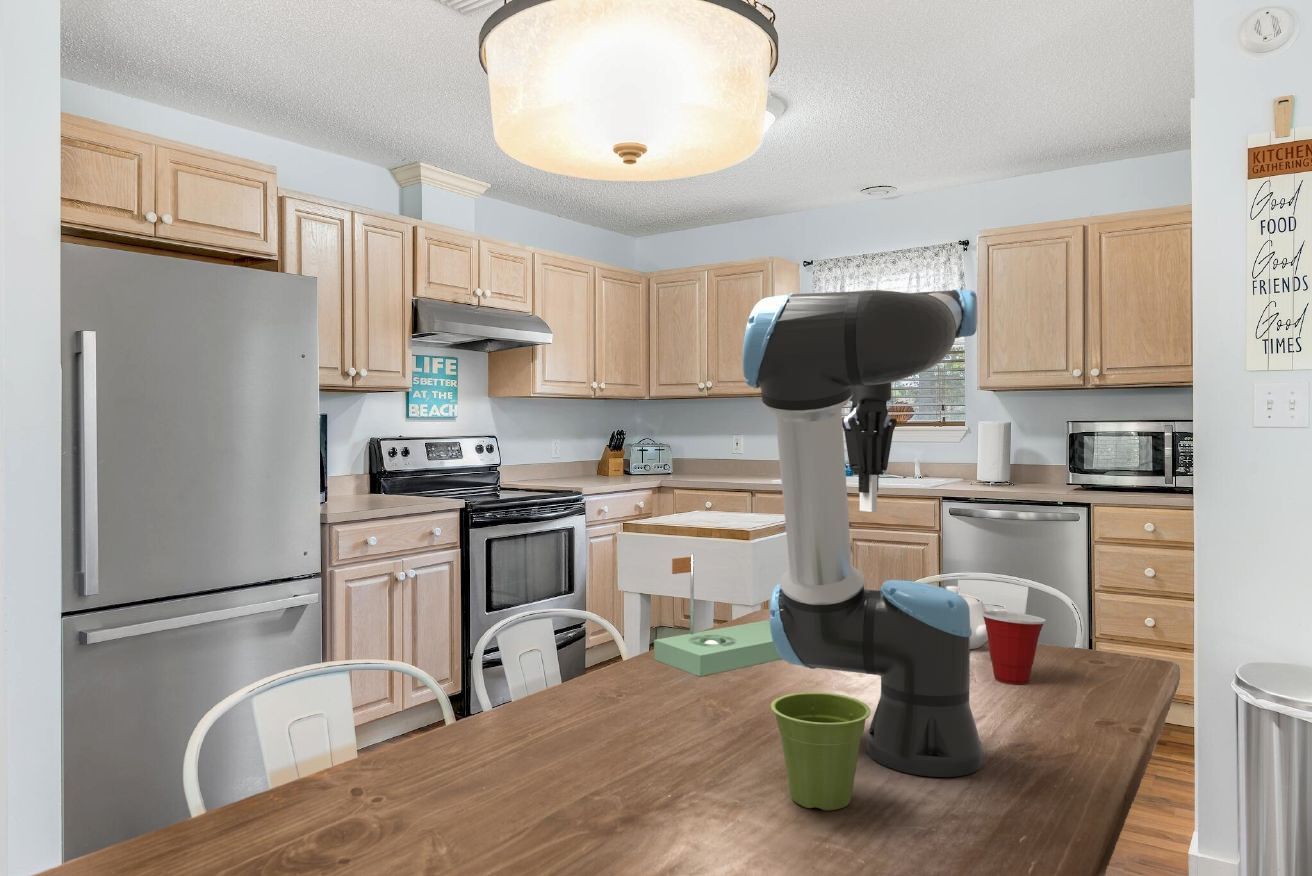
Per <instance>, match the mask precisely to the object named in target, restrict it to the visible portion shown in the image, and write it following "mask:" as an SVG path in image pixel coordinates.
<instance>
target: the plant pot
mask: <svg viewBox="0 0 1312 876" xmlns="http://www.w3.org/2000/svg"><path fill="white" fill-rule="evenodd" d="M770 709H771V711H772V712H773V714H774V715H775V717H776V723H777V729H778V731H779V732H780V739H781V744H782V750H783V757H784V763H785V768H786V775H787V782H788V789H789V792H790V793H789V794H790V798H791V799H792V801H793V802H795V803H796V804H797V805H799V806H802V807H804V808H806V809H812V808H813V809H814V808H817V809H821V810H822V811H829V812H830V811H835V810H840V809H843V808H846V807H847V806H848V805H849V804H850V803H851V800H852V797H853V789H854V784H855V779H856V770H857V764H858V758H859V750H860V746H861V740H862V739H861V738H862V736H863V734H864V730H865V725H866V720H867V719H868V718H869V717H870V715H871V708H870V706H869V705H867V704H866V703H865V702H863V701H861V700H859V699H857V698H854V697H851V696H847V695H843V694H838V693H831V692H830V693H829V692H822V691H821V692H820V691H819V692H818V691H816V692H810V691H808V692H807V691H806V692H797V693H796V692H795V693H789V694H785V695H782V696H780V697H777V698H776V699H774V700H773V701H772V702H771V704H770Z"/></svg>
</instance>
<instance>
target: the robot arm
mask: <svg viewBox="0 0 1312 876" xmlns="http://www.w3.org/2000/svg"><path fill="white" fill-rule="evenodd" d="M977 329H978V296H977V293H976V292H975V291H974V290H970V289H952V290H939V291H938V290H937V291H922V292H904V291H903V292H902V291H893V290H881V289H880V290H879V289H876V290H875V289H870V290H868V289H867V290H860V291H859V290H857V291H855V290H854V291H835V292H834V291H833V292H832V291H831V292H812V293H811V292H810V293H808V292H807V293H794V292H793V293H792V292H791V293H789V294H784V295H783V294H782V295H775V296H769V297H768V296H767V297H765V298H762V299H761V300H760V301H758V302H757V303H756V304H755V305H754V307H753V309H752V310H751V312H750V314H749V317H748V320H747V323H746V328H745V333H744V338H743V347H742V372H743V377H744V379H745V383H746V384H747V386H749V387H750V388H753V389H759V388H760V392H761V401H762V405H763V406H764V407H765V408H766V409H767V410H769V411H770V412H771V413H773V414H774V416H775V424H776V425H775V426H776V436H777V448H778V456H779V459H778V460H779V468H780V469H779V470H780V477H781V478H780V479H781V490H782V499H783V501H782V502H783V511H784V519H785V522H784V523H785V531H786V532H785V533H786V541H787V553H788V554H787V555H788V562H789V564H788V565H789V569H787V570H786V571H785V572H783V574H782V576H781V578H780V582H779V583H778V584H776V585H775V587H774V588H773V590H772V592H771V595H770V601H769V614H770V617H769V620H770V630H771V636H772V640H773V643H774V646H775V649H776V651H777V653H778V654H779V656H780V657H781V658H782V659H781V660H783V661H784V662H786V663H787V664H790V665H796V666H802V667H805V668H809V669H810V670H811V669H812V670H815V669H823V670H829V671H830V670H831V671H840V672H849V673H855V674H856V673H857V674H866V675H872V676H873V675H875V676H879V677H880V697H879V700H878V703H877V707H876V708H875V712H874V714H873V717H872V720H871V722H870V723H871V724H870V727H869V729H868V732H867V743H866V744H867V745H866V746H867V747H866V749H867V753H868V755H869V757H870V758H871V759H873V760H874V761H875V762H877V763H879V764H881V765H883V766H885V767H887V768H888V769H889V768H890V769H892V770H896V771H899V772H902V773H905V774H911V775H917V776H924V777H933V778H953V777H961V776H967V775H970V774H973V773H976V772H977V771H978V770H980V769H981V768H982V766H983V763H984V761H983V758H984V757H983V755H984V754H983V752H984V751H983V750H984V749H983V744H982V743H983V742H982V741H981V739H980V736H979V732H978V731H979V730H978V729H977V725H976V722H975V718H974V716H973V712H972V710H971V705H970V686H971V684H970V683H971V682H970V680H971V679H970V677H971V676H970V672H971V671H970V670H971V669H970V667H971V666H970V665H971V664H970V662H971V661H970V658H971V657H970V655H971V654H970V651H971V649H970V636H971V635H972V630H971V628H970V610H969V606H968V603H967V602H966V600H965V599H964V598H963V597H962V596H960V595H959V594H960V593H958V592H957V593H955V592H953V591H950V590H947V589H946V588H943V587H941V586H938V585H933V584H930V583H929V584H928V583H924V582H919V581H911V580H899V579H889V580H885V581H884V582H883V583H882V586H881V587H880V590H874V589H865V581H864V580H865V579H864V577H863V574H862V572H861V571H860V570H859V569H857V568H856V567H855V566H854V565H852V549H851V548H852V547H851V537H850V534H851V533H850V521H849V519H850V518H849V505H848V491H847V489H848V488H847V475H846V474H847V473H846V472H847V471H846V457H845V445H844V444H846V452H847V458H848V464H849V469H850V471H852V473H853V474H854V475H857V476H858V487H857V488H858V492H859V511H860V512H870V513H875V512H876V513H877V512H878V492H879V475H880V476H883V475H884V474H885V471H887V470H888V466H889V459H890V453H891V448H892V442H893V434H894V431H895V428H896V426H897V424H898V420H897V418H891V416H890V415H889V409H888V406H887V402H889V401H891V400H892V383H895V382H896V381H897V382H898V381H901V380H905V379H907V378H909V377H912V376H915V375H917V374H919V373H922V372H925V371H927V370H928V369H931V368H933V367H934V366H935V365H937V364H938V363H940V362H941V361H942V360H943V359H945V357H946V356H947V355H948V354H949V353H950V351H951V350H952V347H953V346H954V343H955V340H956V339H959V338H964V337H972V336H974V335H975V334H976V333H977ZM849 402H851V407H850V410H849V412H850V413H849V414H848V415H847V416H846V417H843V412H842V409H843V408H844V407H845V406H846V405H847V404H848V403H849ZM844 437H845V442H844Z"/></svg>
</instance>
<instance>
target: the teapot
mask: <svg viewBox="0 0 1312 876" xmlns="http://www.w3.org/2000/svg"><path fill="white" fill-rule="evenodd" d="M945 589H947V590H950V591H953V592H955V593H957V594H959V595H960V596H962V597H963V598H964V599H965V600H966V602H967V603H968V606H969V610H970V628H971V630H972V635H971V636H970V650H975V649H979V648H980V647H982V646H983V645H984V644H985V643H987V642H988V635H987V631H986V625H985V620H984V618H983V616H982V611H988V610H987V608H986V606H985V604H984V602H983V601H982V599H981V598H979V597H976V596H973V595H968V594H962V593H958V592H959V591H960V589H961V588H960V587H959V586H957V585H947V586H945ZM993 611H1005V612H1009V611H1008V610H1007V609H1005V608H1004V609H1003V608H996V609H995V608H994V610H993Z"/></svg>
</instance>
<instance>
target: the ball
mask: <svg viewBox="0 0 1312 876" xmlns="http://www.w3.org/2000/svg"><path fill="white" fill-rule="evenodd" d="M705 643H706V644H719V643H718V642H716V641H714V640H708V641H706V642H705Z"/></svg>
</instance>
